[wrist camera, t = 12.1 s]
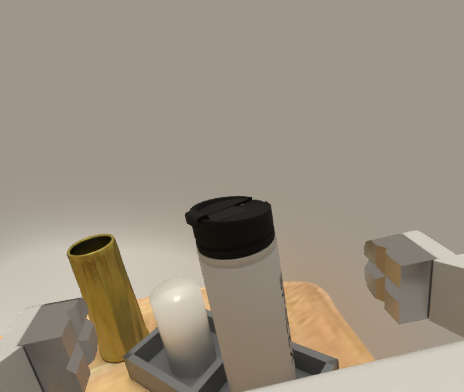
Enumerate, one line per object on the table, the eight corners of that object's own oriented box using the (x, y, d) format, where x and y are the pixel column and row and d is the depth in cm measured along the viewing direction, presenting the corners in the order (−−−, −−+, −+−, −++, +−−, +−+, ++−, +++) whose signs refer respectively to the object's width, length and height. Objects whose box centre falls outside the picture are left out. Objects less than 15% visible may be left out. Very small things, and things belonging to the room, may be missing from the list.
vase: (105, 372, 39) (64, 265, 35) (96, 342, 44) (59, 245, 40) (156, 345, 42) (123, 242, 37) (142, 320, 47) (112, 226, 42)
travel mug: (217, 398, 33) (168, 207, 26) (267, 358, 36) (236, 181, 30) (259, 447, 28) (212, 227, 21) (313, 396, 31) (288, 193, 25)
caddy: (130, 377, 38) (122, 356, 37) (191, 320, 45) (186, 302, 44) (290, 484, 26) (286, 457, 25) (340, 383, 33) (338, 359, 32)
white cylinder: (160, 366, 38) (139, 299, 35) (192, 335, 42) (175, 272, 39) (194, 386, 35) (173, 314, 32) (225, 350, 38) (209, 283, 35)
